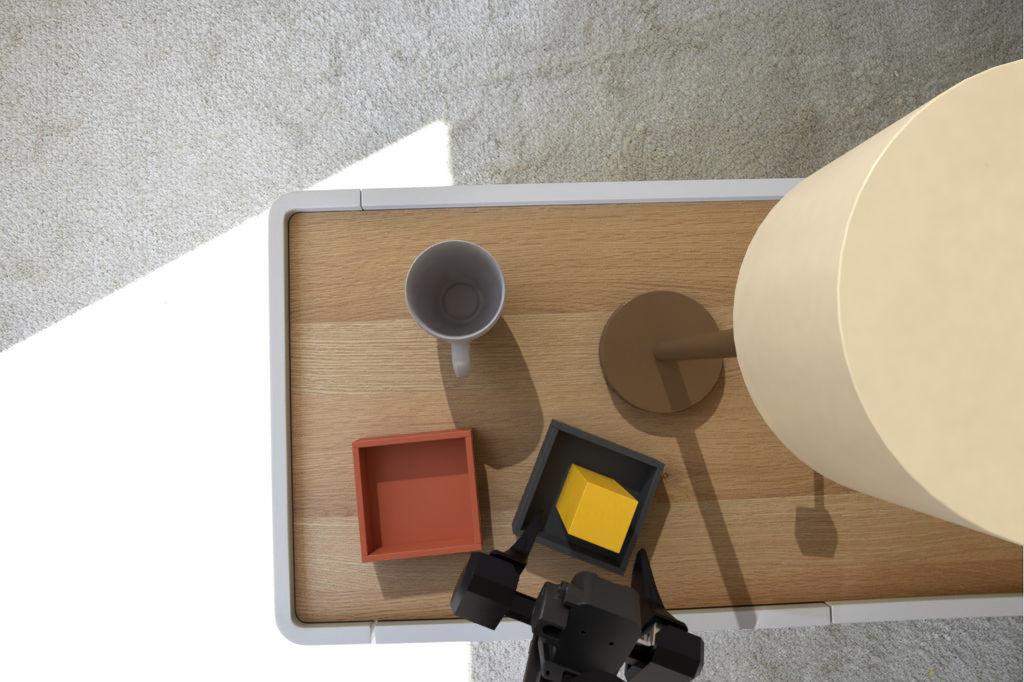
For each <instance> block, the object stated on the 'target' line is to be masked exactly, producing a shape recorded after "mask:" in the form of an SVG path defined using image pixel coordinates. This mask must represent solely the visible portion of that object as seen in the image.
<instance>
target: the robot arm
mask: <svg viewBox="0 0 1024 682" xmlns="http://www.w3.org/2000/svg"><path fill="white" fill-rule="evenodd" d="M543 516H544V510H543V509H540V510H539V511H538V513H537V514H536V515H535V517H534V518H533V520H532V521H531V523H530V524H529V525H528V527H527V528H526V530H525V531H524V533H523V534H522V535H521V537H520V536H519V538H518V539H517V540H516V541H515V542H514V543H513V544H512V545H511V546H510V547H509V548H508V549H506V550H505V551H502V550H499V549H491V550H489V552H488V553H485V552H483V551H482V550H480V551H470V554H469V556H468V559H467V561H466V563H465V564H464V567H463V569H462V571H461V573H460V575H459V577H458V578H457V581H456V584H455V586H454V588H453V589H454V590H453V593H452V596H451V598H450V603H449V605H450V606H449V607H450V609H451V611H452V614H453V616H456V617H458V618H461V619H463V620H466V621H468V622H471V623H473V624H476V625H479V626H481V627H484V628H487V629H488V630H492V631H496V629H497V628H498V626H499V625H500V623H501V621H502V620H503V618H504V617H507V618H510V619H512V620H515V621H517V622H520V623H523V624H525V625H528V626H530V628H531V633H532V637H531V640H530V643H529V646H528V652H527V654H528V656H527V661H526V665H525V669H524V674H523V678H522V682H692V681H694V680H695V679H696V678H698V677H699V676H700V675H701V673H702V670H703V668H704V665H705V641H704V640H703V638H702V637H701V636H699V635H697V634H693V633H691V632H689V627H688V625H687V624H686V623H685V622H684V621H681V620H679V619H678V618H676V617H675V616H674V615H672V614H671V613H670V612H669V611H668V610H667V608H666V607H665V605H664V602H663V600H662V598H661V596H660V592H659V590H658V587H657V583H656V580H655V576H654V572H653V570H652V567H651V563H650V559H649V557H648V554H647V550H646V549H645V548H642V547H640V548H639V549H638V551H637V552H636V554H635V559H634V562H633V567H632V572H631V582H630V586H629V585H626V584H623V585H621V584H620V583H616V582H613V581H611V580H608V579H606V578H603V577H601V576H600V575H599V574H598V573H595V572H593V571H589V570H583V571H579V572H577V573H575V574H574V576H573V578H572V579H571V581H570V582H568V581H566V580H561V582H560V583H554V582H552V581H549V580H547V581H544V583H543V584H542V587H541V589H540V591H539V593H538V595H537V597H534V596H531V595H529V594H526V593H524V592H521V591H518V590H517V589H518V586H519V581H520V576H521V575H522V573H523V572H524V570H525V569H526V567H527V565H528V562H529V558H530V557H529V556H530V554H531V551H532V549H533V546H534V544H535V543H536V542H535V539H536V537H537V534H538V532H539V529H540V527H541V524H542V521H543ZM623 666H624V672H623V676H624V678H625V680H624V679H623V678H621V677H619V676H618V674H619V672H620V670H621V668H622V667H623Z"/></svg>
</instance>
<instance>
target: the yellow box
mask: <svg viewBox="0 0 1024 682" xmlns="http://www.w3.org/2000/svg"><path fill="white" fill-rule="evenodd" d="M637 504H638V501H637V500H636V499H635V498H634V497H633V496H631V495H630V494H629V493H628V492H627V491H626V490H625V489H624V488H623V487H622V486H620V485H619V484H618V483H617V482H616V481H615V480H614V479H611V478H609V477H606V476H604V475H601V474H598V473H596V472H593V471H591V470H588V469H586V468H583V467H580V466H578V465H575V464H573V463H572V465H571V467H570V470H569V473H568V475H567V478H566V481H565V483H564V486H563V488H562V491H561V494H560V496H559V499H558V502H557V504H556V508H557V510H558V512H559V514H560V516H561V519H562V521H563V523H564V525H565V528H566V530H567V532H568V534H570V535H573V536H575V537H578V538H580V539H583V540H586V541H588V542H591V543H593V544H596V545H598V546H601V547H604V548H606V549H609V550H611V551H614V552H616V553H620V550H621V547H622V544H623V542H624V539H625V536H626V534H627V531H628V528H629V526H630V523H631V520H632V518H633V515H634V512H635V510H636V507H637Z"/></svg>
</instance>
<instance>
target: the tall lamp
mask: <svg viewBox="0 0 1024 682" xmlns="http://www.w3.org/2000/svg"><path fill="white" fill-rule="evenodd" d="M736 280H737V281H736V285H735V290H734V298H733V310H732V324H733V325H732V326H733V328H728V329H722V330H721V329H720V328H719V326H718V324H717V322H716V320H715V319H714V317H713V316H712V314H711V313H710V312H709V311H708V310H707V309H706V307H704V306H703V305H702V304H701V303H700V302H698V301H697V300H696V299H693V298H692V297H690V296H688V295H685V294H683V293H681V292H676V291H673V290H653V291H647V292H644V293H641V294H638V295H636V296H634V297H632V298H630V299H629V300H626V301H625V302H623V303H622V304H620V306H618V307H617V308H616V309H615V311H613V312H612V313H611V315H610V316H609V318H608V320H607V321H606V323H605V325H604V326H603V329H602V331H601V335H600V339H599V344H598V359H599V365H600V369H601V372H602V375H603V377H604V379H605V381H606V383H607V384H608V386H609V388H610V389H611V390H612V391H613V392H614V394H616V396H618V397H619V398H620V399H621V400H623V401H624V402H625V403H626V404H629V405H630V406H632V407H635V408H636V409H639V410H642V411H646V412H649V413H650V412H651V413H656V414H671V413H677V412H681V411H682V410H686V409H689V408H690V407H693V406H694V405H697V404H698V403H699V402H700V401H702V400H703V399H704V398H706V396H707V395H708V394H709V393H710V392H711V390H712V389H713V387H714V386H715V384H716V383H717V381H718V379H719V377H720V374H721V371H722V368H723V363H724V359H733V358H737V362H738V366H739V369H740V373H741V375H742V379H743V382H744V385H745V388H746V389H747V391H748V393H749V396H750V398H751V400H752V403H753V404H754V406H755V407H756V409H757V411H758V413H759V414H760V416H761V418H762V419H763V421H764V422H765V424H766V425H767V427H768V428H769V430H771V432H772V433H773V434H774V435H775V436H776V437H777V439H778V440H779V441H780V442H781V444H783V446H785V447H786V448H787V449H788V450H789V451H790V452H791V453H792V454H793V455H794V456H795V457H796V458H797V459H798V460H799V461H801V462H803V464H805V465H806V466H808V467H810V468H811V469H812V470H814V471H815V472H816V473H818V474H819V475H821V476H823V477H825V478H827V479H829V480H831V481H832V482H834V483H836V484H838V485H840V486H843V487H845V488H848V489H851V490H853V491H856V492H859V493H861V494H864V495H867V496H870V497H873V498H876V499H879V500H883V501H885V502H889V503H892V504H894V505H897V506H900V507H904V508H906V509H910V510H912V511H915V512H918V513H919V512H920V513H922V514H924V515H928V516H930V517H933V518H938V519H940V520H943V521H946V522H949V523H952V524H954V525H958V526H960V527H964V528H966V529H970V530H973V531H976V532H979V533H983V534H985V535H988V536H991V537H993V538H996V539H999V540H1004V541H1007V542H1009V543H1012V544H1015V545H1019V546H1022V547H1024V58H1022V59H1017V60H1015V61H1011V62H1007V63H1003V64H999V65H997V66H992V67H990V68H988V69H985V70H984V71H983V70H982V71H980V72H979V73H976V74H974V75H972V76H970V77H968V78H965V79H963V80H961V81H960V82H958V83H955V85H953V86H951V87H950V88H948V89H946V90H945V91H943V92H942V93H940V94H938V95H937V96H935V97H933V98H932V99H930V100H929V101H926V102H925V103H924V104H922V105H921V106H919V107H917V108H916V109H914V110H912V111H910V112H909V113H908V114H906V115H904V116H903V117H901V118H900V119H898V120H896V121H895V122H892V124H890V125H888V126H887V127H885V128H883V129H882V130H880V131H879V132H877V133H876V134H874V135H873V136H871V137H869V138H868V139H866V140H864V141H863V142H861V143H859V144H858V145H857V146H855V147H853V148H851V149H850V150H848V151H847V152H845V153H844V154H842V155H840V156H839V157H837V158H836V159H834V160H832V161H831V162H829V163H828V164H826V165H824V166H823V167H821V168H820V169H818V170H816V171H815V172H813V173H812V174H810V175H808V176H807V177H806V178H804V179H803V180H801V181H800V182H799V183H797V184H796V185H795V186H794V187H793V188H791V189H790V190H789V191H787V193H786V194H785V195H783V197H782V198H781V199H780V200H779V201H778V202H777V203H776V204H775V205H774V206H773V207H772V208H771V210H770V211H769V213H768V214H767V215H766V216H765V218H764V219H763V220H762V222H761V223H760V225H759V226H758V228H757V230H756V232H755V234H754V236H753V237H752V239H751V241H750V243H749V245H748V247H747V250H746V253H745V255H744V258H743V260H742V263H741V266H740V269H739V273H738V276H737V279H736Z"/></svg>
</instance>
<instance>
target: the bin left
mask: <svg viewBox="0 0 1024 682" xmlns="http://www.w3.org/2000/svg"><path fill="white" fill-rule="evenodd" d="M351 452H352V462H353V474H354V486H355V498H356V509H357V510H356V511H357V519H358V521H357V523H358V532H359V545H360V555H361V558H360V559H361V563H362V564H364V563H374V562H383V561H394V560H403V559H404V560H405V559H411V558H412V559H413V558H422V557H423V558H424V557H430V556H442V555H450V554H461V553H469V552H470V553H471V552H479V551H483V541H484V537H483V531H482V530H483V528H482V518H481V517H482V516H481V507H480V498H479V497H480V496H479V495H480V494H479V485H478V484H479V483H478V475H477V464H476V463H477V462H476V454H475V442H474V432H473V427H472V426H469V427H459V428H451V429H449V428H448V429H438V430H431V431H429V430H428V431H420V432H410V433H399V434H389V435H381V436H380V435H379V436H369V437H359V438H358V439H356V440H354V441H352V442H351Z"/></svg>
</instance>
